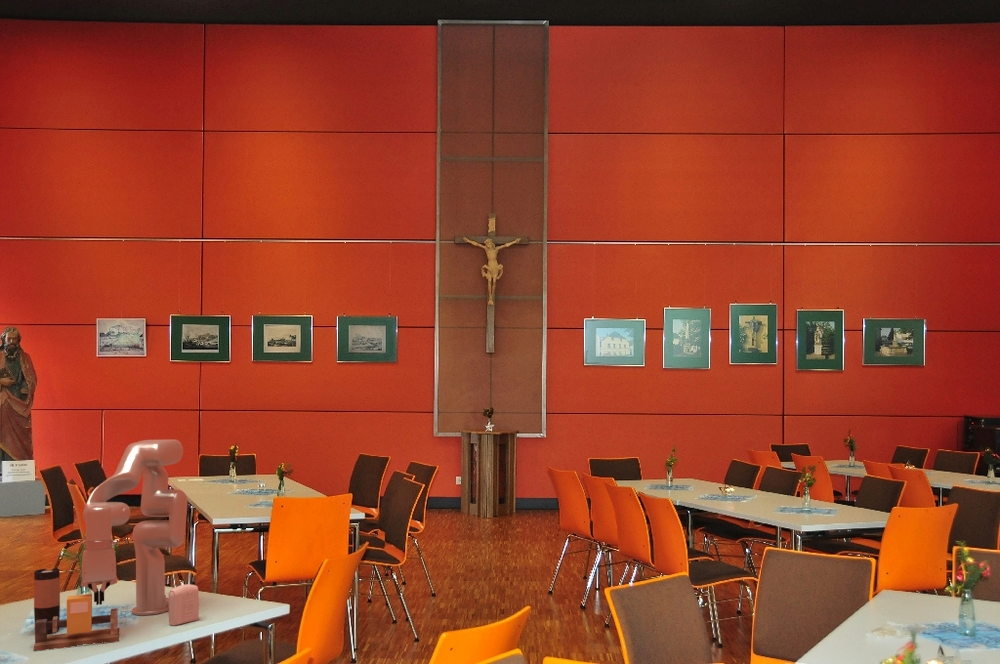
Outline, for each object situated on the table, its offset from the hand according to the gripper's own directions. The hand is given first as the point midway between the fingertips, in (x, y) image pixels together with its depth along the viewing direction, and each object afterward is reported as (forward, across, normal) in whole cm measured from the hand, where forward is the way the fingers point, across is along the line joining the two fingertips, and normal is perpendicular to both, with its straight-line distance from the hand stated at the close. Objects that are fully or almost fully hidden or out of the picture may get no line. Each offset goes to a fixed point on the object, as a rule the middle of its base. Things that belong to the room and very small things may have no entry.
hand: (99, 603), depth 303 cm
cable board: (+11, +6, 0) cm, 13 cm away
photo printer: (+11, -26, -10) cm, 30 cm away
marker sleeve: (+8, +6, 0) cm, 10 cm away
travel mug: (+11, +16, -17) cm, 26 cm away
